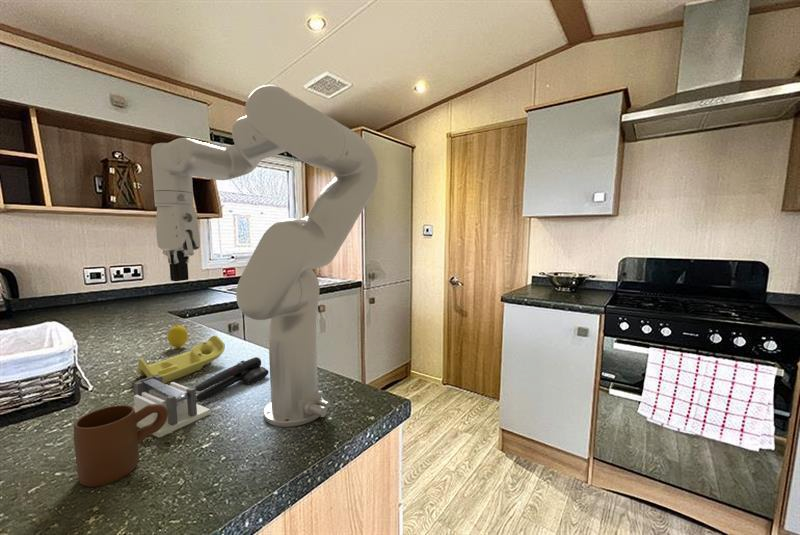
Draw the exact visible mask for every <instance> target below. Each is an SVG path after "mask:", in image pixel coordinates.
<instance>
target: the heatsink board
mask: <svg viewBox="0 0 800 535" xmlns="http://www.w3.org/2000/svg"><path fill="white" fill-rule="evenodd" d="M152 378H154V379H156V380H158V381H160V382H162V383H163V380H162V376H160V375H155V376H151V377H146V378H142V379H140V380H136V381H134V382H132V388H133V390H132V391H133V392H132V393H133V403H134V405H133V406H132V407H133V408H134V409H135V412H137V411H139V410H141V409H142V408H144V407H146V406H147V405H150V404H161V405H163V406H165V407H166V409H167V411H168V416H167V420H166V422H165V424H164V425H163V426H162V427H161V428H160V429H159V430H158V431H156V432H155V433H153V434H151V435H152V436H154V437H156V438H158V439H159V438H162V437H164V436H167V435H169V434H170V433H173V432H174V431H176V430H177V431H178V430H179V429H181V428H184V427H185V426H188V425H189V424H192V423H194V422H196V421H198V420H200V419H202V418H205V417H207V416H209V415H211V409H210V408H207V407H205V406H203V405H201V404H198V403H197V399H196V396H197V393H196V390H195V388H196V387H195V388H194V387H192V386H191V387H188V386H185V385H182V384H180V383H177V382H174V381H170V382H169V383H170V384H167V383H165V384H166V385H168V386H170V387H172V388H174V389H176V390H178V391H180V392H182V393H184V394H187V393H189V395H190V398H188V399H185V400H183V401H180V402H178V403H176V396H174V395H170V396H165V395H163V394H161V393H159V392H157V391H155V390H154V389H152V388H150V387H148V386H146V385H144V384H143V381H146V380H149V379H152ZM156 418H157V413H152V414H150V415H149V416H147V417H145V418H144V419H142V420H141V421H139V422H138V423H137V428H139V429H141V428H142V427H144V426H146V425H149V424H151V423H153V422H154V421H155V420H156Z"/></svg>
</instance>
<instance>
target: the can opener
mask: <svg viewBox="0 0 800 535" xmlns="http://www.w3.org/2000/svg"><path fill="white" fill-rule="evenodd" d="M261 365H262V360H261V358H259V357H257V356H256V357H252V358H250V359H247V360H240V361H239V362H237V363H236V364H234V365H233V366H231V367H228V368H226V369H224V370H222V371H221V372H218V373H216V374H214V375H213V376H211V377H209V378H207V379H206V380H203V381H202V382H201V383H199V384H197V385H196V386H195V390H196V391H197V392H199V393H198V394H196V401H202V400H203V401H204V400H206V399H208V398H210V397H213V396H215V395H217V394H219V393H220V392H222V391H224V390H226V389H227V388H229V387H230V386H232V385H234V384H236V383H238V382H241V383H243V384H245V385H249V386H250V385H254V384H257V383H258V381H259V382H261V381H262V380H264V379H265V378H266V377H267V376H268V374H270V370H268V369H267V368H266V367H263V366H261ZM260 380H261V381H260ZM256 382H257V383H256Z"/></svg>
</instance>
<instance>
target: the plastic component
mask: <svg viewBox="0 0 800 535" xmlns="http://www.w3.org/2000/svg"><path fill="white" fill-rule="evenodd" d="M225 348H226V345H225V343H224V341H222V339H221V338H220V337H218V335H213V336H210V337H209V339H208V340H207V341H203V342H202V343H199V344H197V345H195V346H194V347H192V348H191V349H190V350H189V351H187V352H184V353H181V354H178V355H176V356H172V357H169V358H166V359H164V360H160V361H157V362H155V363H151V364H148V363H147V362H146V361H145V359H144V358H140V359H139V360H138V365H137V373H138V374H139V375H140V376H146V378H148V377H151V376H155V375H160V376H162V380H163V383H164V384H167V383H171V382H173V381H175V380H177V379H180V378H182V377H185V376H188V375H190V374H192V373H195V372H198V371H200V370H202V369H203V367H204V366H205V365H208V364H211V362H214V361H215V360H217V359H218V358H220V357H221V355H222V354H223V353H224V351H225Z"/></svg>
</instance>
